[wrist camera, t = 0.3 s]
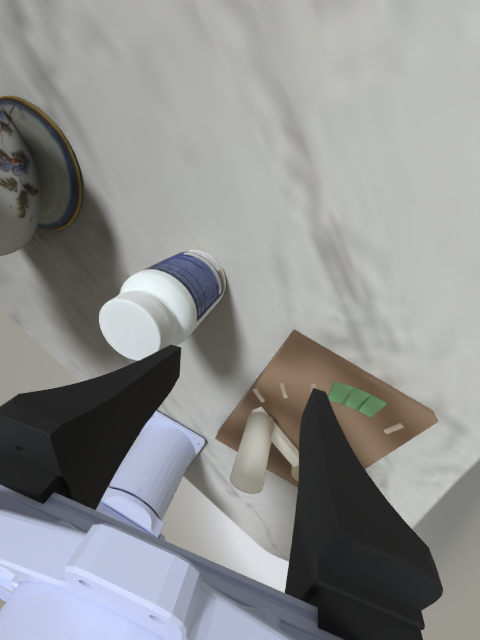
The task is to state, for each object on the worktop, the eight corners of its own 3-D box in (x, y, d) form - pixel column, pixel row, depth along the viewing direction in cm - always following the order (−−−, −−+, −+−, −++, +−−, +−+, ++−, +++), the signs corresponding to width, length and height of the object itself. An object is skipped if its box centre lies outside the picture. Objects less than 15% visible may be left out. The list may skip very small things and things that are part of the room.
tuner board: (318, 488, 31) (318, 500, 30) (218, 430, 31) (214, 440, 30) (432, 410, 22) (439, 423, 21) (293, 329, 22) (292, 337, 21)
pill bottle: (179, 237, 21) (90, 268, 13) (236, 265, 21) (183, 316, 13) (165, 290, 24) (84, 345, 16) (215, 316, 24) (160, 385, 16)
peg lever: (326, 471, 27) (329, 553, 21) (302, 476, 28) (297, 554, 22) (267, 399, 25) (251, 468, 19) (244, 408, 26) (221, 475, 20)
